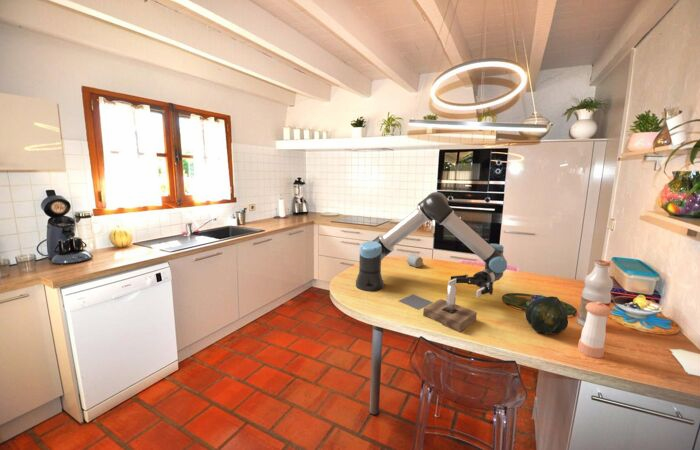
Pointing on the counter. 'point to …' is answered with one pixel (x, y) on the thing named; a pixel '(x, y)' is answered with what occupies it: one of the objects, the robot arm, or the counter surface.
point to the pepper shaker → (594, 330)
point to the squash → (547, 315)
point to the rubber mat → (415, 302)
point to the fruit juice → (596, 289)
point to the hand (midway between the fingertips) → (462, 289)
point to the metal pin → (451, 298)
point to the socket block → (450, 315)
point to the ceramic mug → (414, 260)
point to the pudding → (537, 297)
